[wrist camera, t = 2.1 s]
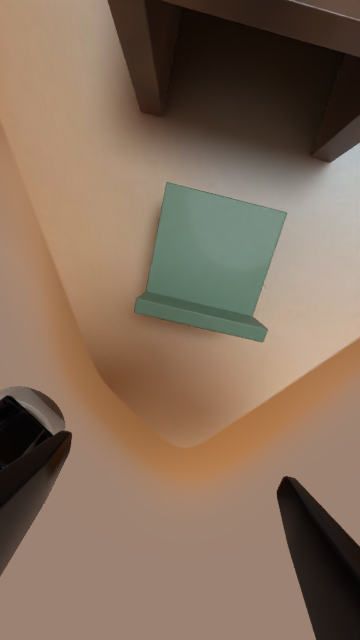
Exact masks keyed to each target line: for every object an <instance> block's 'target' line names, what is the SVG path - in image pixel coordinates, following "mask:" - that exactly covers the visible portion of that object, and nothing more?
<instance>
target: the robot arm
mask: <svg viewBox="0 0 360 640" xmlns="http://www.w3.org/2000/svg"><path fill="white" fill-rule="evenodd" d="M7 401H8V402H7ZM71 439H72V433H71V432H68V431H63V430H62V431H59V432H58V433H56V434H55V435H53V434H52V433H51V432H50V431H49V430H48V429H46V428H45V427H44V426H43V425H42V424H41V423H40V422H39V421H38V420H37V419H36V418H35V417H34V416H33V415H31V414H30V413H29V412H28V411H27V410H26V409H25V408H24V407H23V406H22V405H21V404H20V403H19V402H17V401H16V400H15V399H14V398H13V397H12V396H9V395H7V396H5V397H3V398H2V399H1V400H0V576H1V574H2V573H3V571H4V569H5V568H6V566H7V564H8V563H9V561H10V559H11V558H12V556H13V554H14V553H15V551H16V549H17V548H18V546H19V544H20V543H21V541H22V539H23V538H24V536H25V534H26V533H27V531H28V529H29V528H30V526H31V525H32V523H33V521H34V520H35V518H36V516H37V515H38V513H39V511H40V510H41V508H42V506H43V504H44V503H45V501H46V499H47V497H48V495H49V493H50V491H51V489H52V487H53V485H54V483H55V481H56V479H57V477H58V475H59V473H60V471H61V468H62V466H63V465H64V462H65V460H66V458H67V456H68V454H69V451H70V447H71ZM277 499H278V504H279V508H280V512H281V517H282V521H283V526H284V531H285V535H286V540H287V544H288V547H289V551H290V554H291V558H292V561H293V564H294V568H295V571H296V574H297V578H298V581H299V584H300V587H301V591H302V594H303V598H304V601H305V604H306V608H307V611H308V614H309V617H310V621H311V624H312V627H313V631H314V634H315V637H316V640H360V546H359V545H358V544H357V543H356V542H355V541H354V540H353V539H352V538H351V537H350V536H349V535H348V534H347V533H346V532H345V530H344V529H343V528H342V527H341V526H340V525H339V524H338V523H337V522H336V521H335V520H334V519H333V518H332V517H331V516H330V515H329V514H328V513H327V511H326V510H325V509H324V508H323V507H322V506H321V505H320V504H319V503H318V502H317V501H316V500H315V499H314V498H313V497H312V496H311V495H310V494H309V493H308V492H307V490H306V489H305V488H304V487H303V486H302V485H301V484H300V483H299V482H298V481H297V480H296V479H295V478H292V477H288V476H285V477H283V479H282V481H281V483H280V485H279V487H278V490H277Z"/></svg>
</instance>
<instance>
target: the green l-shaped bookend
mask: <svg viewBox="0 0 360 640" xmlns="http://www.w3.org/2000/svg"><path fill="white" fill-rule="evenodd" d="M286 215H287V213H286V212H283V211H279V210H275V209H271V208H267V207H263V206H259V205H255V204H251V203H247V202H243V201H239V200H235V199H231V198H227V197H224V196H220V195H216V194H212V193H208V192H204V191H200V190H196V189H192V188H188V187H184V186H180V185H176V184H172V183H169V182H167V183H166V188H165V193H164V198H163V204H162V209H161V214H160V220H159V225H158V230H157V236H156V241H155V246H154V251H153V257H152V262H151V267H150V273H149V278H148V283H147V288H146V292H145V293H143V294H142V295H141V296H139V297H138V298H137V299H136V304H135V309H134V312H135V313H137V314H142V315H146V316H150V317H155V318H159V319H163V320H168V321H172V322H176V323H181V324H185V325H189V326H194V327H198V328H202V329H207V330H211V331H215V332H220V333H224V334H228V335H233V336H237V337H241V338H246V339H250V340H254V341H259V342H263V341H264V339H265V336H266V333H267V331H268V329H267V328H266V327H265V326H263V325H262V324H261V323H260V322H259V321H257V320H256V319H255V318H254V317H252V316H253V313H254V310H255V307H256V304H257V301H258V298H259V295H260V292H261V289H262V286H263V283H264V280H265V277H266V274H267V271H268V268H269V265H270V262H271V260H272V257H273V254H274V251H275V248H276V245H277V242H278V239H279V236H280V233H281V230H282V227H283V224H284V221H285V218H286Z"/></svg>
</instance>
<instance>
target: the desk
mask: <svg viewBox="0 0 360 640" xmlns="http://www.w3.org/2000/svg"><path fill="white" fill-rule="evenodd" d="M108 4H109V7H110V10H111V14H112V17H113V20H114V24H115V27H116V30H117V34H118V37H119V40H120V44H121V47H122V50H123V54H124V57H125V60H126V64H127V67H128V70H129V74H130V77H131V80H132V84H133V87H134V90H135V94H136V97H137V100H138V104H139V107H140V110H141V111H142V112H146V113H150V114H153V115H157V116H161V117H162V116H163V113H164V107H165V101H166V96H167V90H168V84H169V78H170V72H171V67H172V61H173V55H174V49H175V43H176V37H177V32H178V26H179V20H180V14H181V8H182V7H186V8H189V9H193V10H196V11H200V12H203V13H207V14H210V15H214V16H217V17H221V18H224V19H228V20H231V21H235V22H238V23H242V24H245V25H249V26H252V27H256V28H259V29H263V30H266V31H270V32H273V33H277V34H280V35H284V36H287V37H291V38H294V39H298V40H301V41H305V42H308V43H312V44H315V45H319V46H322V47H326V48H330V49H333V50H337V51H340V52H344V53H345V56H344V59H343V62H342V65H341V68H340V71H339V74H338V77H337V80H336V83H335V86H334V89H333V91H332V94H331V97H330V100H329V103H328V106H327V109H326V112H325V115H324V118H323V121H322V124H321V127H320V130H319V133H318V135H317V138H316V141H315V144H314V147H313V150H312V153H311V157H314V158H318V159H322V160H326V161H330V162H332V161H334V160H335V159H336V158H338V157H339V156H341V155H342V154H344V153H345V152H347V151H348V150H350V149H351V148H353V147H354V146H355V145H357V144H358V143H360V0H108Z"/></svg>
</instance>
